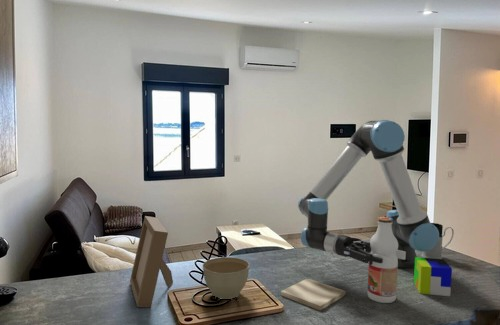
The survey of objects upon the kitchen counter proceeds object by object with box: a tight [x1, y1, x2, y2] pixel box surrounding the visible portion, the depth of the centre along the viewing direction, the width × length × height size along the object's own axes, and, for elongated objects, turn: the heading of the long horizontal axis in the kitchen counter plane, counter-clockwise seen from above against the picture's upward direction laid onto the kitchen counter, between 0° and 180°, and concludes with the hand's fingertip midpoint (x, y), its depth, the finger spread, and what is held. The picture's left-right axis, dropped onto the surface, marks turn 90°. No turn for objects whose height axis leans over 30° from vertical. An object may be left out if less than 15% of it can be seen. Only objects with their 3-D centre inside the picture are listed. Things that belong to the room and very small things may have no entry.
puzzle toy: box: [413, 256, 453, 297], centre depth 140 cm, size 10×10×10 cm
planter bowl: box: [202, 256, 251, 300], centre depth 133 cm, size 16×16×11 cm
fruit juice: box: [367, 216, 399, 304], centre depth 131 cm, size 9×9×28 cm
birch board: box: [280, 278, 346, 312], centre depth 134 cm, size 16×16×2 cm
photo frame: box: [129, 215, 174, 308], centre depth 133 cm, size 15×22×25 cm
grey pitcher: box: [421, 222, 455, 259], centre depth 176 cm, size 9×14×15 cm, turn 96°
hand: (399, 259), depth 127 cm, fingers closed on fruit juice, 9 cm apart
